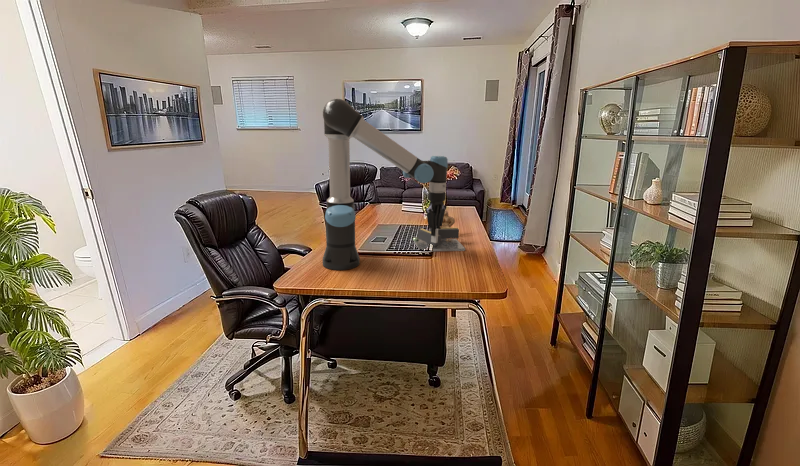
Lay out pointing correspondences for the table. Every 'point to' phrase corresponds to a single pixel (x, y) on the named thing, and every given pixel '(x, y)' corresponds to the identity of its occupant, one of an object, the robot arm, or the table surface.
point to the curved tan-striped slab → (448, 233)
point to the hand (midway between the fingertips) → (434, 242)
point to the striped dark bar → (427, 237)
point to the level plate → (445, 245)
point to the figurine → (447, 221)
